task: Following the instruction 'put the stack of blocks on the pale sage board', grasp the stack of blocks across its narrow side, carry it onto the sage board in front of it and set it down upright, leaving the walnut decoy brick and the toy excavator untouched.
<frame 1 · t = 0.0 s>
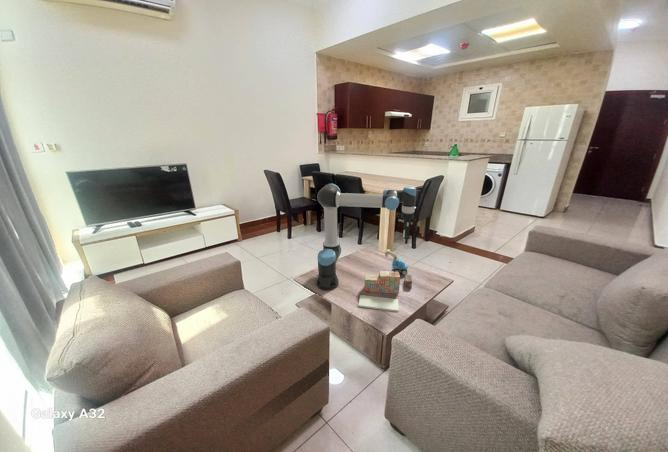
hand: (405, 243, 165), 28 cm above the table, tool pointing down, fingers open, 13 cm apart
toy excavator: (395, 271, 186), on the table
walnut brick: (408, 284, 171), on the table
stack of blocks: (381, 290, 166), on the table
sage board: (378, 303, 153), on the table
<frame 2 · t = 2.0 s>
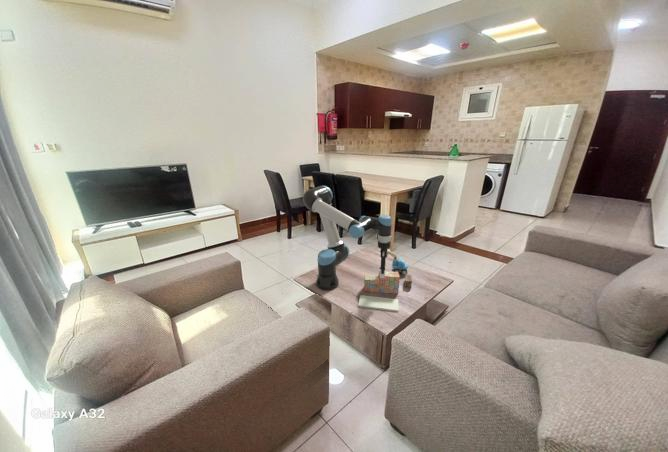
hand: (382, 272, 161), 13 cm above the table, tool pointing down, fingers open, 13 cm apart
nothing on the table moved.
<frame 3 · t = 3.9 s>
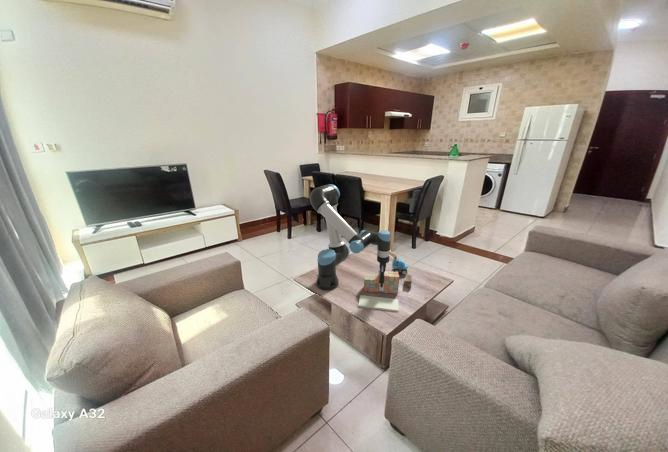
hand: (381, 287, 165), 2 cm above the table, tool pointing down, fingers closed on stack of blocks, 7 cm apart
stack of blocks: (380, 290, 166), on the table, touching gripper
everything else where it was.
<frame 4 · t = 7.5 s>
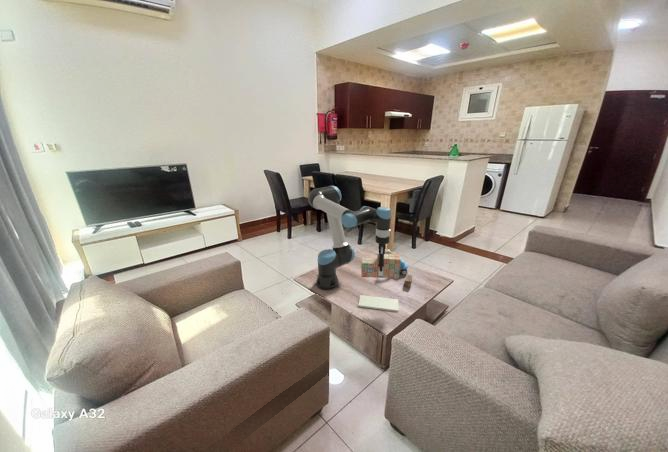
hand: (380, 272, 148), 20 cm above the table, tool pointing down, fingers closed on stack of blocks, 7 cm apart
stack of blocks: (379, 275, 149), point 18 cm above the table, touching gripper
everything else where it was.
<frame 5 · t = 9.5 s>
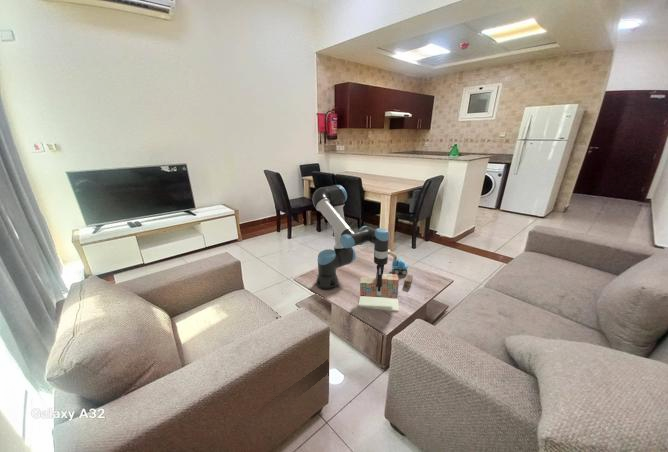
hand: (379, 291, 149), 9 cm above the table, tool pointing down, fingers closed on stack of blocks, 7 cm apart
stack of blocks: (378, 294, 150), point 7 cm above the table, touching gripper
everything else where it was.
when the fingers open (4 cm above the table, at t = 11.0 s): stack of blocks drops 1 cm, resting on sage board.
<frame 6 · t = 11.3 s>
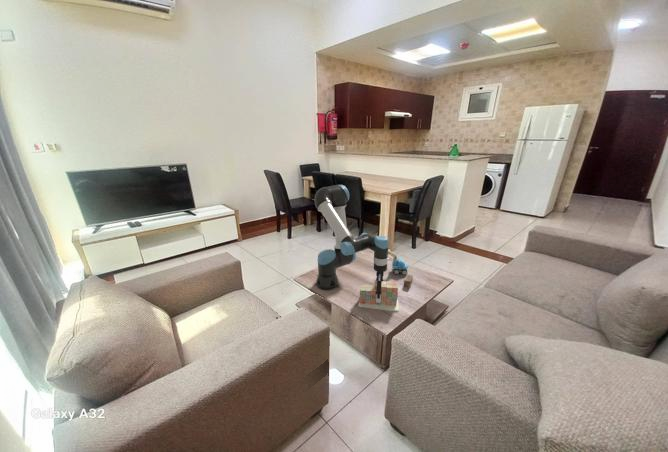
hand: (378, 296, 151), 5 cm above the table, tool pointing down, fingers open, 10 cm apart
stack of blocks: (377, 301, 153), point 1 cm above the table, touching sage board
everything else where it was.
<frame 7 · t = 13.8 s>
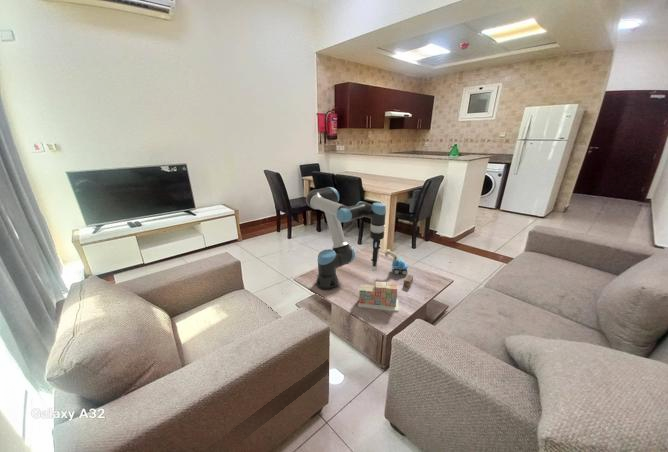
hand: (375, 264, 149), 24 cm above the table, tool pointing down, fingers open, 13 cm apart
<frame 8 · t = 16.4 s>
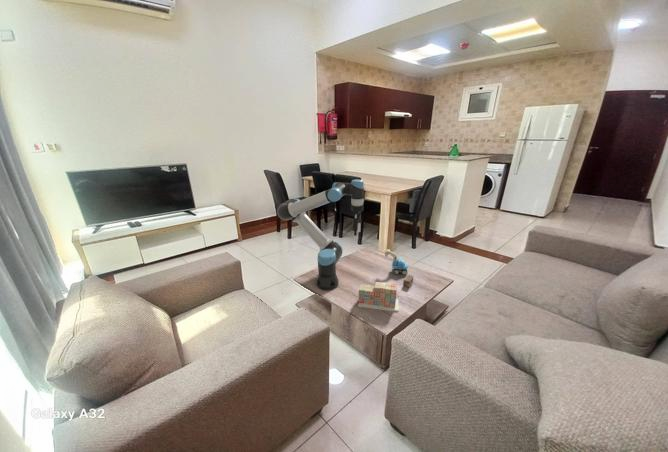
hand: (356, 235, 169), 32 cm above the table, tool pointing down, fingers open, 13 cm apart
at the end: stack of blocks 0.9 cm off-centre on the sage board, point 0.8 cm above the sage board's base; stack of blocks tilted 0°; walnut brick moved 0.2 cm from its start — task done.
